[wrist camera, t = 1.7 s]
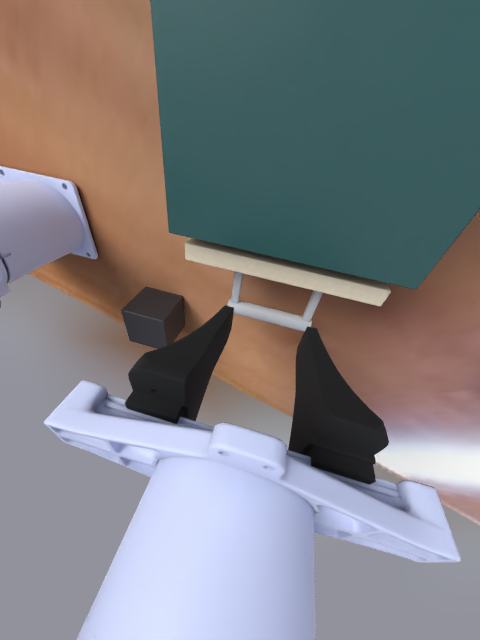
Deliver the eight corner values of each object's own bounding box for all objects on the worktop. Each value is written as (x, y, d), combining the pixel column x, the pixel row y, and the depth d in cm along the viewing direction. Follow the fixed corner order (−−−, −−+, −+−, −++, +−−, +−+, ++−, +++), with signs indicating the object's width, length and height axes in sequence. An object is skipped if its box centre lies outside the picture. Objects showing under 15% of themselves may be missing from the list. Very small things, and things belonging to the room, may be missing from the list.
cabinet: (379, 237, 18) (416, 290, 12) (213, 201, 20) (168, 232, 13) (578, -122, 9) (1252, -764, 2) (230, -144, 10) (99, -606, 4)
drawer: (338, 305, 22) (346, 355, 17) (212, 274, 23) (186, 312, 18) (506, -5, 10) (696, -139, 5) (231, -35, 11) (169, -169, 6)
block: (151, 316, 31) (129, 340, 27) (146, 286, 28) (120, 309, 24) (184, 325, 31) (167, 351, 27) (183, 296, 27) (163, 321, 24)
